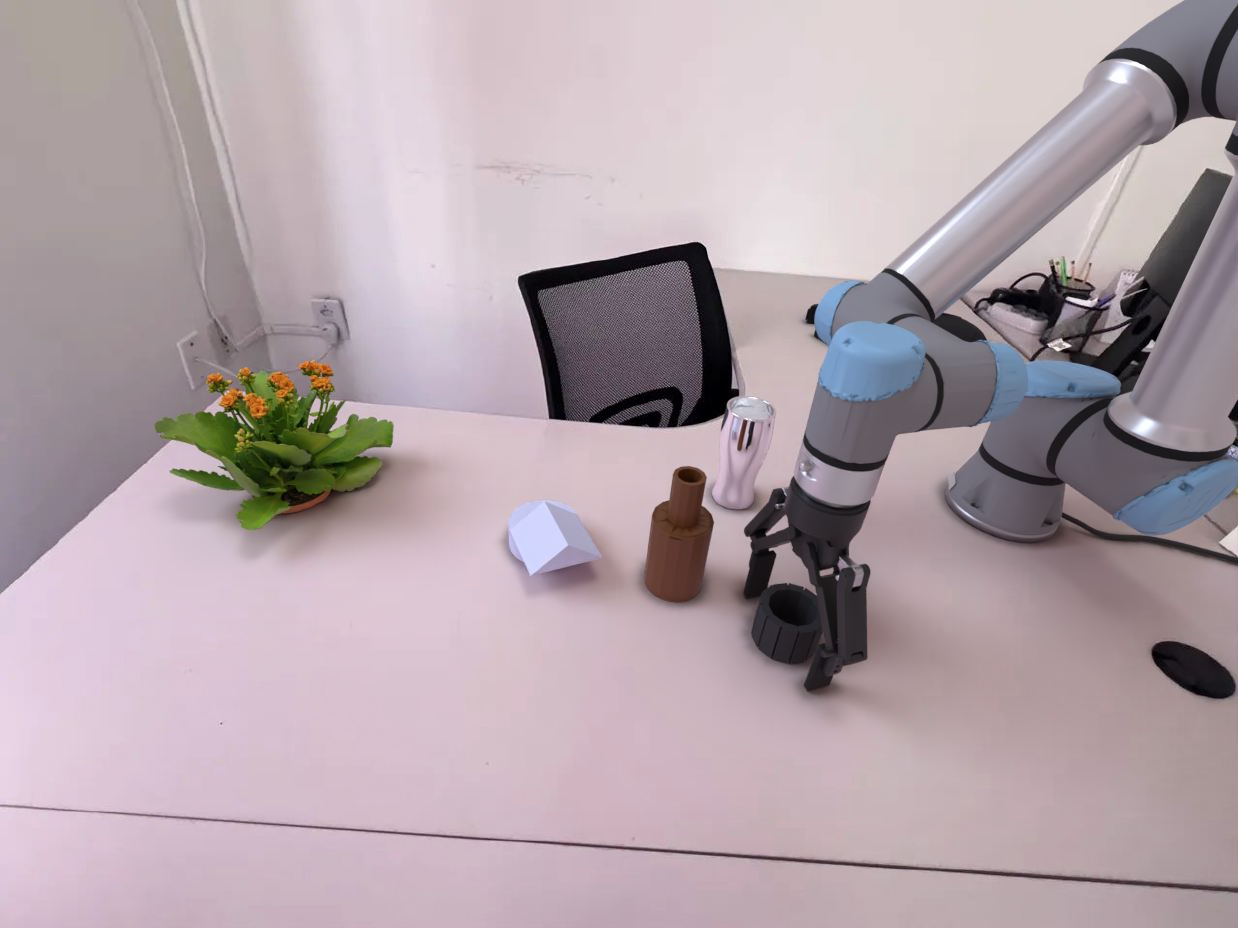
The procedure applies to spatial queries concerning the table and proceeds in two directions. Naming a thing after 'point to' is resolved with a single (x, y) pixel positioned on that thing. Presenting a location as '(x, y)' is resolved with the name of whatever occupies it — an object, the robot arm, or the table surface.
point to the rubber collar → (784, 637)
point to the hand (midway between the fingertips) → (783, 636)
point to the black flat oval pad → (944, 321)
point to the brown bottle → (679, 539)
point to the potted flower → (279, 443)
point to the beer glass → (742, 449)
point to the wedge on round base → (549, 537)
